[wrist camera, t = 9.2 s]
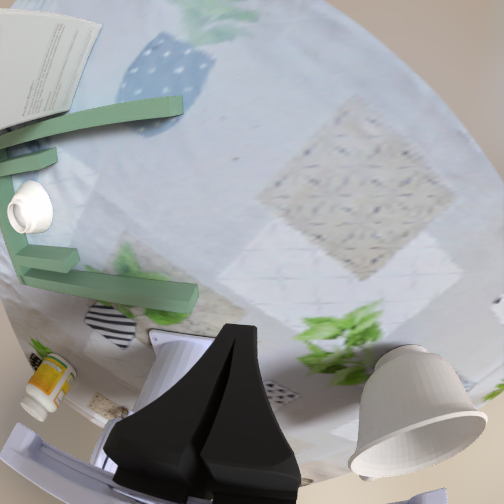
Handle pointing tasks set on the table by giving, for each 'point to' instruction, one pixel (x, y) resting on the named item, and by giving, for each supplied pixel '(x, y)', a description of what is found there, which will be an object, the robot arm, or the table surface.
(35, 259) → the green frame
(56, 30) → the supplement box
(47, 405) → the supplement bottle
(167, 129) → the table surface
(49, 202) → the white jar
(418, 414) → the teacup
